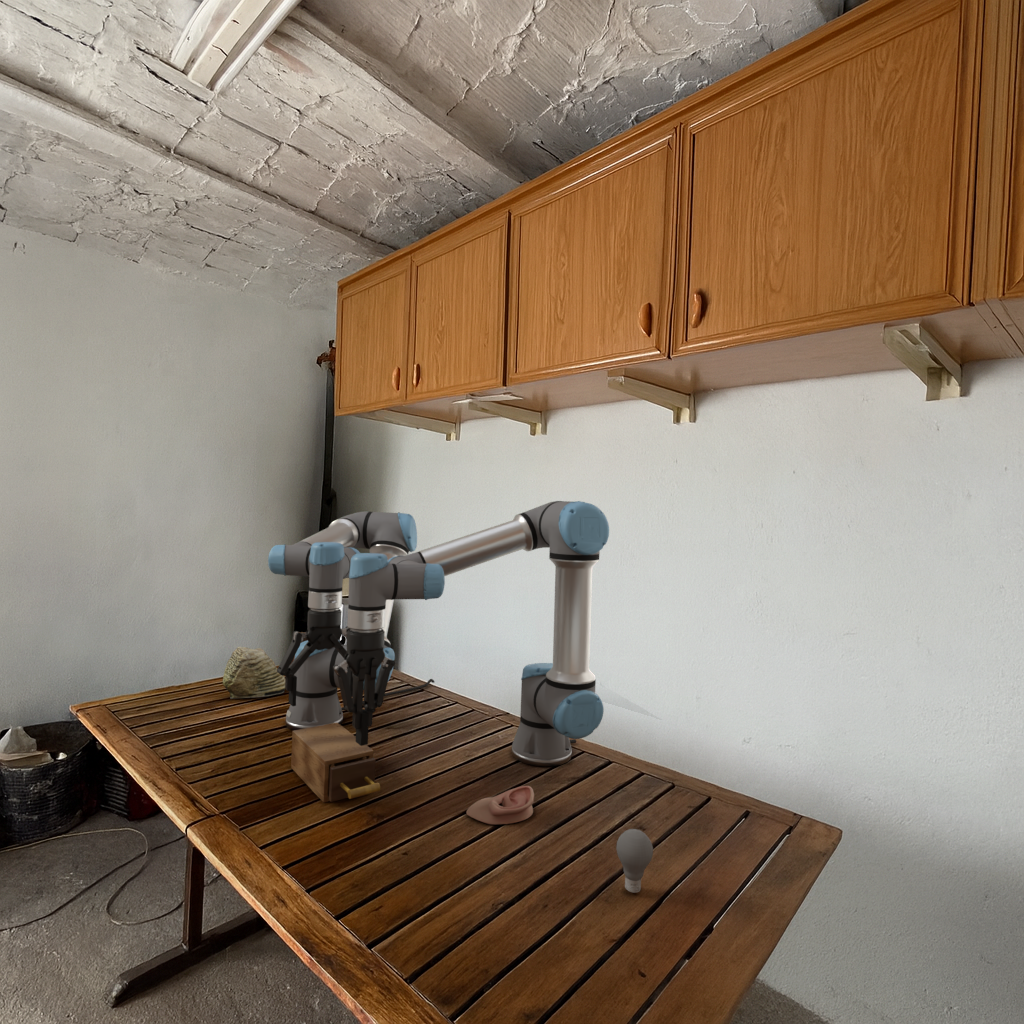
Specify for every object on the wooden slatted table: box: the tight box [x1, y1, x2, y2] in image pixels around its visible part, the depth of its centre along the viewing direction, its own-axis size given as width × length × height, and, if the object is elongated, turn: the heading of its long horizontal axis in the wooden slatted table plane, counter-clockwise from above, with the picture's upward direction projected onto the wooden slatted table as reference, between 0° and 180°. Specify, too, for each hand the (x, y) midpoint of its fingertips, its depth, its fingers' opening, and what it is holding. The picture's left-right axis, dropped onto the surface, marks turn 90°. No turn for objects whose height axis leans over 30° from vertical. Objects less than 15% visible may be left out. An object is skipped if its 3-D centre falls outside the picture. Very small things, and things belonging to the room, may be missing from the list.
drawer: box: [328, 756, 381, 803], centre depth 138 cm, size 25×10×7 cm, turn 38°
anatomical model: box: [465, 785, 535, 825], centre depth 130 cm, size 13×4×12 cm
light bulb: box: [615, 828, 654, 894], centre depth 106 cm, size 6×6×10 cm
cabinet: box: [290, 723, 374, 803], centre depth 142 cm, size 20×11×9 cm, turn 38°
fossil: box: [222, 646, 287, 699], centre depth 198 cm, size 9×18×15 cm, turn 132°
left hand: (321, 699), depth 147 cm, fingers open, 13 cm apart
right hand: (361, 742), depth 130 cm, fingers closed
